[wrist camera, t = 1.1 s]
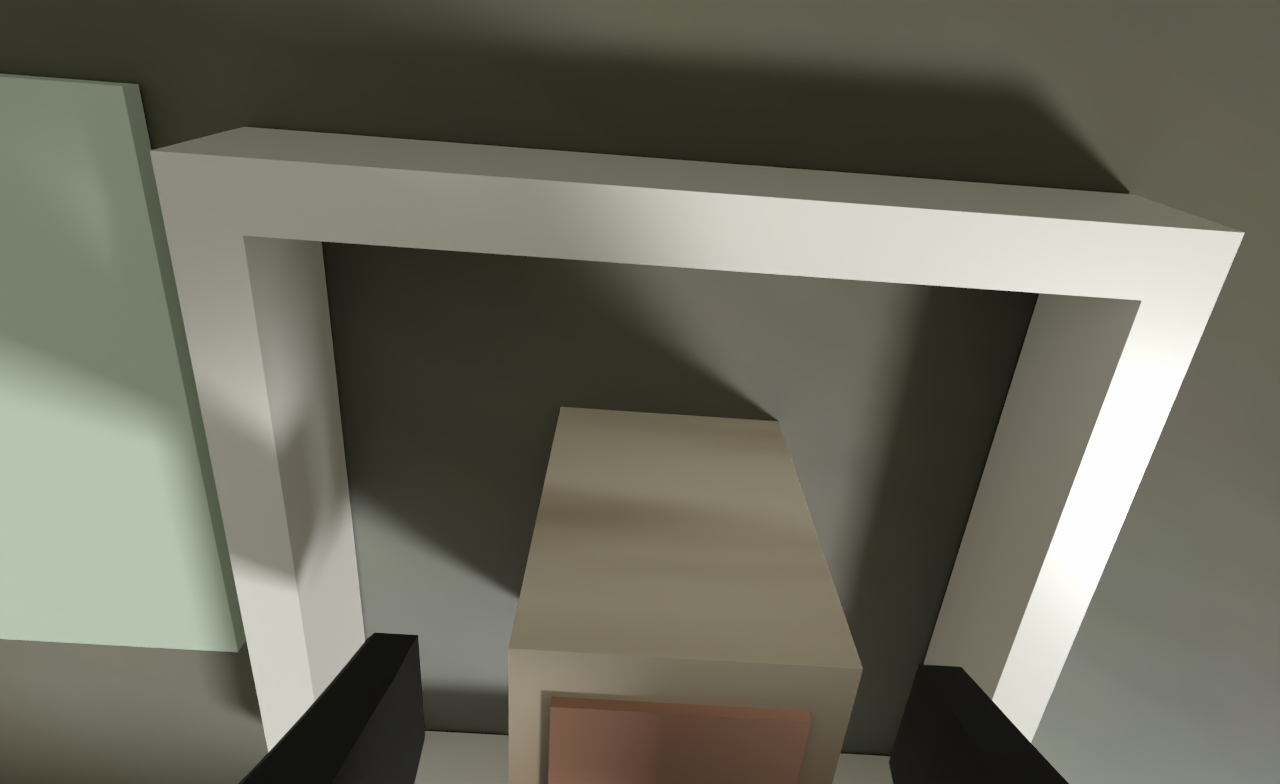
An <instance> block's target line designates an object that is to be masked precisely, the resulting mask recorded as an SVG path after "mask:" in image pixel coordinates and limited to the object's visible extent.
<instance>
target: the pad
mask: <svg viewBox="0 0 1280 784" xmlns="http://www.w3.org/2000/svg"><path fill="white" fill-rule="evenodd" d="M150 150H151V146H150V140H149V135H148V130H147V125H146V120H145V115H144V110H143V105H142V100H141V95H140V90H139V84H129V83H116V82H103V81H90V80H77V79H64V78H51V77H38V76H26V75H13V74H0V639H13V640H30V641H48V642H65V643H83V644H100V645H118V646H136V647H153V648H171V649H188V650H206V651H223V652H239V650H240V649H241V647H242V646H243V644H244V643H245V641H246V636H245V631H244V626H243V621H242V616H241V611H240V606H239V601H238V596H237V591H236V585H235V580H234V575H233V570H232V565H231V560H230V555H229V550H228V545H227V540H226V535H225V530H224V525H223V520H222V515H221V509H220V504H219V499H218V494H217V489H216V484H215V479H214V474H213V469H212V464H211V459H210V454H209V449H208V444H207V438H206V433H205V428H204V423H203V418H202V413H201V408H200V403H199V398H198V393H197V388H196V383H195V378H194V373H193V368H192V362H191V357H190V352H189V347H188V342H187V337H186V332H185V327H184V322H183V317H182V312H181V307H180V302H179V297H178V292H177V286H176V281H175V276H174V271H173V266H172V261H171V256H170V251H169V246H168V241H167V236H166V231H165V226H164V221H163V215H162V210H161V205H160V200H159V195H158V190H157V185H156V180H155V175H154V170H153V165H152V160H151V155H150Z"/></svg>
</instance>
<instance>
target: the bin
mask: <svg viewBox="0 0 1280 784" xmlns="http://www.w3.org/2000/svg"><path fill="white" fill-rule="evenodd" d="M150 155H151V160H152V165H153V170H154V175H155V180H156V185H157V190H158V195H159V200H160V205H161V210H162V215H163V221H164V226H165V231H166V236H167V241H168V246H169V251H170V256H171V261H172V266H173V271H174V276H175V281H176V286H177V292H178V297H179V302H180V307H181V312H182V317H183V322H184V327H185V332H186V337H187V342H188V347H189V352H190V357H191V362H192V368H193V373H194V378H195V383H196V388H197V393H198V398H199V403H200V408H201V413H202V418H203V423H204V428H205V433H206V438H207V444H208V449H209V454H210V459H211V464H212V469H213V474H214V479H215V484H216V489H217V494H218V499H219V504H220V509H221V515H222V520H223V525H224V530H225V535H226V540H227V545H228V550H229V555H230V560H231V565H232V570H233V575H234V580H235V585H236V591H237V596H238V601H239V606H240V611H241V616H242V621H243V626H244V631H245V636H246V641H247V646H248V651H249V656H250V661H251V667H252V672H253V677H254V682H255V687H256V692H257V697H258V702H259V707H260V712H261V717H262V722H263V727H264V732H265V738H266V743H267V748H268V753H269V751H270V750H271V749H272V748H273V747H274V746H275V745H276V744H277V743H278V742H279V741H280V739H281V738H282V737H283V736H284V735H285V734H286V733H287V732H288V731H289V730H290V729H291V727H292V726H293V725H294V724H295V723H296V722H297V721H298V720H299V719H300V718H301V716H302V715H303V714H304V713H305V712H306V711H307V710H308V709H309V707H310V706H311V705H312V704H313V703H314V702H315V701H316V699H317V698H318V697H319V696H320V695H321V694H322V693H323V691H324V690H325V689H326V688H327V687H328V686H329V684H330V683H331V682H332V681H333V680H334V678H335V677H336V676H337V675H338V674H339V673H340V671H341V670H342V669H343V668H344V667H345V665H346V664H347V663H348V662H349V660H350V659H351V658H352V657H353V656H354V654H355V653H356V652H357V651H358V649H359V648H360V647H361V646H362V645H363V643H364V642H365V636H364V627H363V617H362V608H361V599H360V590H359V581H358V571H357V562H356V553H355V544H354V535H353V526H352V516H351V507H350V498H349V489H348V480H347V470H346V461H345V452H344V443H343V434H342V425H341V415H340V406H339V397H338V388H337V379H336V369H335V360H334V351H333V342H332V333H331V323H330V314H329V305H328V296H327V287H326V278H325V268H324V259H323V250H322V241H323V242H337V243H351V244H365V245H379V246H393V247H406V248H420V249H434V250H448V251H462V252H476V253H490V254H503V255H517V256H531V257H545V258H559V259H573V260H587V261H600V262H614V263H628V264H642V265H656V266H670V267H684V268H697V269H711V270H725V271H739V272H753V273H767V274H781V275H795V276H808V277H822V278H836V279H850V280H864V281H878V282H892V283H905V284H919V285H933V286H947V287H961V288H975V289H989V290H1002V291H1016V292H1030V293H1039V296H1038V299H1037V302H1036V305H1035V309H1034V312H1033V315H1032V318H1031V321H1030V325H1029V328H1028V331H1027V334H1026V337H1025V341H1024V344H1023V347H1022V350H1021V353H1020V357H1019V360H1018V363H1017V366H1016V369H1015V373H1014V376H1013V379H1012V382H1011V385H1010V389H1009V392H1008V395H1007V398H1006V401H1005V405H1004V408H1003V411H1002V414H1001V417H1000V421H999V424H998V427H997V430H996V433H995V437H994V440H993V443H992V446H991V449H990V453H989V456H988V459H987V462H986V465H985V469H984V472H983V475H982V478H981V481H980V485H979V488H978V491H977V494H976V497H975V501H974V504H973V507H972V510H971V513H970V517H969V520H968V523H967V526H966V529H965V533H964V536H963V539H962V542H961V545H960V549H959V552H958V555H957V558H956V561H955V564H954V568H953V571H952V574H951V577H950V580H949V584H948V587H947V590H946V593H945V596H944V600H943V603H942V606H941V609H940V612H939V616H938V619H937V622H936V625H935V628H934V632H933V635H932V638H931V641H930V644H929V648H928V651H927V654H926V657H925V660H924V664H923V665H939V666H956V667H962V668H963V669H964V670H965V671H966V673H967V674H968V675H969V676H970V677H971V678H972V679H973V680H974V681H975V682H976V683H977V684H978V685H979V687H980V688H981V689H982V690H983V691H984V692H985V693H986V694H987V695H988V696H989V698H990V699H991V700H992V701H993V702H994V703H995V704H996V705H997V706H998V708H999V709H1000V710H1001V711H1002V712H1003V713H1004V714H1005V715H1006V716H1007V717H1008V719H1009V720H1010V721H1011V722H1012V723H1013V724H1014V725H1015V726H1016V727H1017V728H1018V730H1019V731H1020V732H1021V733H1022V734H1023V735H1024V736H1025V737H1026V738H1027V739H1028V741H1029V742H1030V743H1031V741H1032V739H1033V737H1034V734H1035V732H1036V729H1037V727H1038V725H1039V722H1040V720H1041V717H1042V715H1043V713H1044V710H1045V708H1046V705H1047V703H1048V701H1049V698H1050V696H1051V694H1052V691H1053V689H1054V686H1055V684H1056V682H1057V679H1058V677H1059V674H1060V672H1061V670H1062V667H1063V665H1064V663H1065V660H1066V658H1067V655H1068V653H1069V651H1070V648H1071V646H1072V643H1073V641H1074V639H1075V636H1076V634H1077V632H1078V629H1079V627H1080V624H1081V622H1082V620H1083V617H1084V615H1085V612H1086V610H1087V608H1088V605H1089V603H1090V601H1091V598H1092V596H1093V593H1094V591H1095V589H1096V586H1097V584H1098V581H1099V579H1100V577H1101V574H1102V572H1103V570H1104V567H1105V565H1106V562H1107V560H1108V558H1109V555H1110V553H1111V550H1112V548H1113V546H1114V543H1115V541H1116V538H1117V536H1118V534H1119V531H1120V529H1121V527H1122V524H1123V522H1124V519H1125V517H1126V515H1127V512H1128V510H1129V507H1130V505H1131V503H1132V500H1133V498H1134V496H1135V493H1136V491H1137V488H1138V486H1139V484H1140V481H1141V479H1142V476H1143V474H1144V472H1145V469H1146V467H1147V465H1148V462H1149V460H1150V457H1151V455H1152V453H1153V450H1154V448H1155V445H1156V443H1157V441H1158V438H1159V436H1160V434H1161V431H1162V429H1163V426H1164V424H1165V422H1166V419H1167V417H1168V414H1169V412H1170V410H1171V407H1172V405H1173V403H1174V400H1175V398H1176V395H1177V393H1178V391H1179V388H1180V386H1181V383H1182V381H1183V379H1184V376H1185V374H1186V371H1187V369H1188V367H1189V364H1190V362H1191V360H1192V357H1193V355H1194V352H1195V350H1196V348H1197V345H1198V343H1199V340H1200V338H1201V336H1202V333H1203V331H1204V329H1205V326H1206V324H1207V321H1208V319H1209V317H1210V314H1211V312H1212V309H1213V307H1214V305H1215V302H1216V300H1217V298H1218V295H1219V293H1220V290H1221V288H1222V286H1223V283H1224V281H1225V278H1226V276H1227V274H1228V271H1229V269H1230V267H1231V264H1232V262H1233V259H1234V257H1235V255H1236V252H1237V250H1238V247H1239V245H1240V243H1241V240H1242V238H1243V236H1244V232H1241V231H1238V230H1235V229H1232V228H1229V227H1226V226H1224V225H1221V224H1218V223H1215V222H1212V221H1209V220H1206V219H1203V218H1200V217H1197V216H1195V215H1192V214H1189V213H1186V212H1183V211H1180V210H1177V209H1174V208H1171V207H1168V206H1166V205H1163V204H1160V203H1157V202H1154V201H1151V200H1148V199H1145V198H1142V197H1139V196H1137V195H1134V194H1122V193H1109V192H1096V191H1083V190H1069V189H1056V188H1043V187H1030V186H1017V185H1004V184H991V183H977V182H964V181H951V180H938V179H925V178H912V177H899V176H885V175H872V174H859V173H846V172H833V171H820V170H807V169H794V168H780V167H767V166H754V165H741V164H728V163H715V162H702V161H688V160H675V159H662V158H649V157H636V156H623V155H610V154H596V153H583V152H570V151H557V150H544V149H531V148H518V147H505V146H491V145H478V144H465V143H452V142H439V141H426V140H413V139H399V138H386V137H373V136H360V135H347V134H334V133H321V132H307V131H294V130H281V129H268V128H255V127H241V128H237V129H233V130H229V131H225V132H221V133H217V134H213V135H209V136H205V137H202V138H198V139H194V140H190V141H186V142H182V143H178V144H174V145H170V146H166V147H162V148H158V149H154V150H150ZM889 760H890V756H877V755H859V754H841V753H840V757H839V760H838V764H837V768H836V772H835V775H834V779H833V783H832V784H893V780H892V775H891V771H890V766H889ZM414 784H509V735H492V734H473V733H455V732H437V731H425V740H424V744H423V748H422V753H421V757H420V762H419V766H418V770H417V775H416V779H415V783H414Z"/></svg>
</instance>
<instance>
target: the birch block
mask: <svg viewBox="0 0 1280 784" xmlns="http://www.w3.org/2000/svg"><path fill="white" fill-rule="evenodd" d="M862 671H863V667H862V664H861V661H860V659H859V656H858V653H857V650H856V647H855V644H854V641H853V638H852V635H851V632H850V629H849V626H848V623H847V620H846V617H845V615H844V612H843V609H842V606H841V603H840V600H839V597H838V594H837V591H836V588H835V585H834V582H833V579H832V576H831V573H830V570H829V568H828V565H827V562H826V559H825V556H824V553H823V550H822V547H821V544H820V541H819V538H818V535H817V532H816V529H815V526H814V524H813V521H812V518H811V515H810V512H809V509H808V506H807V503H806V500H805V497H804V494H803V491H802V488H801V485H800V482H799V479H798V477H797V474H796V471H795V468H794V465H793V462H792V459H791V456H790V453H789V450H788V447H787V444H786V441H785V438H784V435H783V433H782V430H781V427H780V424H779V421H766V420H751V419H736V418H721V417H706V416H691V415H676V414H661V413H646V412H631V411H616V410H601V409H586V408H571V407H561V408H560V412H559V417H558V422H557V426H556V431H555V435H554V440H553V445H552V449H551V454H550V459H549V463H548V468H547V472H546V477H545V482H544V486H543V491H542V496H541V500H540V505H539V509H538V514H537V519H536V523H535V528H534V533H533V537H532V542H531V546H530V551H529V556H528V560H527V565H526V570H525V574H524V579H523V583H522V588H521V593H520V597H519V602H518V607H517V611H516V616H515V620H514V625H513V630H512V634H511V639H510V644H509V648H508V680H509V784H832V783H833V779H834V775H835V772H836V768H837V764H838V760H839V757H840V753H841V749H842V746H843V742H844V738H845V734H846V731H847V727H848V723H849V719H850V716H851V712H852V708H853V705H854V701H855V697H856V693H857V690H858V686H859V682H860V679H861V675H862Z"/></svg>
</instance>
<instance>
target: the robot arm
mask: <svg viewBox="0 0 1280 784" xmlns="http://www.w3.org/2000/svg"><path fill="white" fill-rule="evenodd" d="M424 740H425V728H424V714H423V700H422V686H421V672H420V658H419V644H418V635H404V634H387V633H374V634H373V635H371V636H370V637H369V638H367V640H366V641H365V642H364V643H363V645H362V646H361V647H360V648H359V649H358V651H357V652H356V653H355V654H354V656H353V657H352V658H351V659H350V660H349V662H348V663H347V664H346V665H345V667H344V668H343V669H342V670H341V671H340V673H339V674H338V675H337V676H336V677H335V678H334V680H333V681H332V682H331V683H330V684H329V686H328V687H327V688H326V689H325V690H324V691H323V693H322V694H321V695H320V696H319V697H318V698H317V699H316V701H315V702H314V703H313V704H312V705H311V706H310V707H309V709H308V710H307V711H306V712H305V713H304V714H303V715H302V716H301V718H300V719H299V720H298V721H297V722H296V723H295V724H294V725H293V726H292V727H291V729H290V730H289V731H288V732H287V733H286V734H285V735H284V736H283V737H282V738H281V739H280V741H279V742H278V743H277V744H276V745H275V746H274V747H273V748H272V749H271V750H270V751H269V753H268V754H267V755H266V756H265V757H264V758H263V759H262V760H261V761H260V762H259V763H258V764H257V765H256V766H255V767H254V768H253V770H252V771H251V772H250V773H249V774H248V775H247V776H246V777H245V778H244V779H243V780H242V781H241V782H240V783H239V784H414V783H415V779H416V775H417V770H418V766H419V762H420V757H421V753H422V748H423V744H424ZM889 766H890V771H891V775H892V780H893V784H1069V783H1068V782H1067V781H1066V780H1065V779H1064V778H1063V777H1062V776H1061V775H1060V774H1059V773H1058V772H1057V771H1056V770H1055V769H1054V768H1053V767H1052V765H1051V764H1050V763H1049V762H1048V761H1047V760H1046V759H1045V758H1044V757H1043V756H1042V755H1041V754H1040V753H1039V751H1038V750H1037V749H1036V748H1035V747H1034V746H1033V745H1032V744H1031V743H1030V742H1029V741H1028V739H1027V738H1026V737H1025V736H1024V735H1023V734H1022V733H1021V732H1020V731H1019V730H1018V728H1017V727H1016V726H1015V725H1014V724H1013V723H1012V722H1011V721H1010V720H1009V719H1008V717H1007V716H1006V715H1005V714H1004V713H1003V712H1002V711H1001V710H1000V709H999V708H998V706H997V705H996V704H995V703H994V702H993V701H992V700H991V699H990V698H989V696H988V695H987V694H986V693H985V692H984V691H983V690H982V689H981V688H980V687H979V685H978V684H977V683H976V682H975V681H974V680H973V679H972V678H971V677H970V676H969V675H968V674H967V673H966V671H965V670H964V669H963V668H962V667H956V666H939V665H922V664H919V667H918V670H917V673H916V677H915V680H914V683H913V686H912V689H911V693H910V696H909V699H908V702H907V705H906V709H905V712H904V715H903V718H902V721H901V725H900V728H899V731H898V734H897V737H896V740H895V744H894V747H893V750H892V753H891V756H890V760H889Z"/></svg>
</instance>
